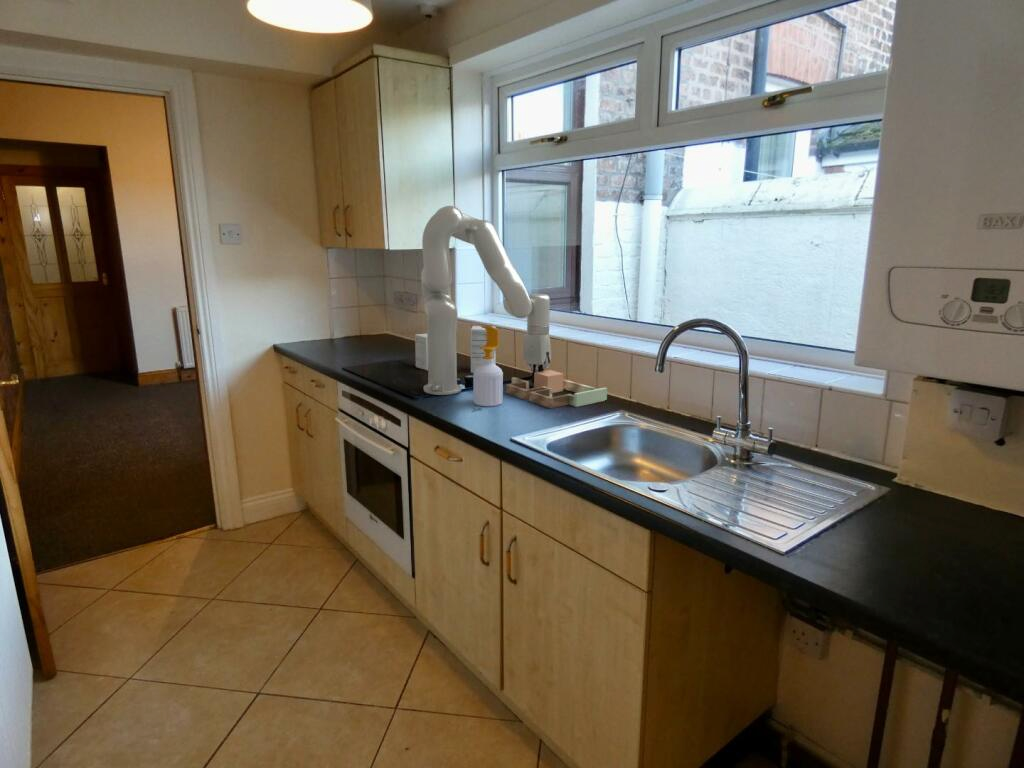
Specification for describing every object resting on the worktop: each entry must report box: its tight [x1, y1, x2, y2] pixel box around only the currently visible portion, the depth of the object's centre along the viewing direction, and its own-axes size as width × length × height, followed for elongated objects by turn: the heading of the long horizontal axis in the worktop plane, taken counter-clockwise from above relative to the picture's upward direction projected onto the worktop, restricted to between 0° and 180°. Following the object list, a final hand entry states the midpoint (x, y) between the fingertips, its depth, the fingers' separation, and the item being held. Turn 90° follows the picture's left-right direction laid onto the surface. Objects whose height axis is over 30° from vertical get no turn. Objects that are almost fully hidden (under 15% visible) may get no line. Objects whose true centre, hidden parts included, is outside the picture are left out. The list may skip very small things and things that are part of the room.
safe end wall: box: [573, 387, 608, 408], centre depth 197 cm, size 1×13×4 cm, turn 128°
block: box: [533, 369, 565, 394], centre depth 212 cm, size 7×7×6 cm
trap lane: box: [505, 376, 598, 409], centre depth 208 cm, size 31×21×3 cm
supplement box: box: [470, 325, 497, 374], centre depth 240 cm, size 10×9×17 cm
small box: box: [414, 333, 428, 371], centre depth 244 cm, size 8×6×13 cm
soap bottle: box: [472, 325, 504, 408], centre depth 194 cm, size 9×9×25 cm
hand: (537, 382), depth 218 cm, fingers closed
